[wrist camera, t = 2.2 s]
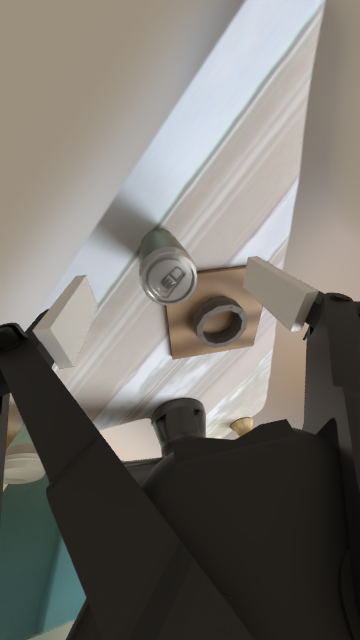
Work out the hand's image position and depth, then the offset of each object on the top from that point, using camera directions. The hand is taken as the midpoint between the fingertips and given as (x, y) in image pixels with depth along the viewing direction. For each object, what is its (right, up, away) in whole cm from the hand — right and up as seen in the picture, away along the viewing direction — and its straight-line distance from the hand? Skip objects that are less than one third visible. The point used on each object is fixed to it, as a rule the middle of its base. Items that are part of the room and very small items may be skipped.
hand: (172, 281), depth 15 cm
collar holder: (+7, -2, +19) cm, 21 cm away
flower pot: (-33, -43, +39) cm, 66 cm away
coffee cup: (-30, -24, +27) cm, 47 cm away
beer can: (-2, +7, +11) cm, 13 cm away
